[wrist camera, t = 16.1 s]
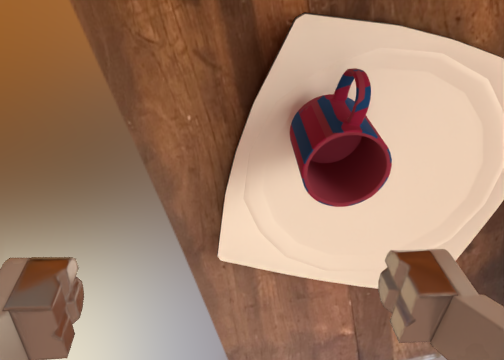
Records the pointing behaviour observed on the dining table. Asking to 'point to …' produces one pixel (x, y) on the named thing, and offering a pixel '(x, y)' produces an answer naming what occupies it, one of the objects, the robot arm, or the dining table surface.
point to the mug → (340, 145)
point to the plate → (395, 137)
